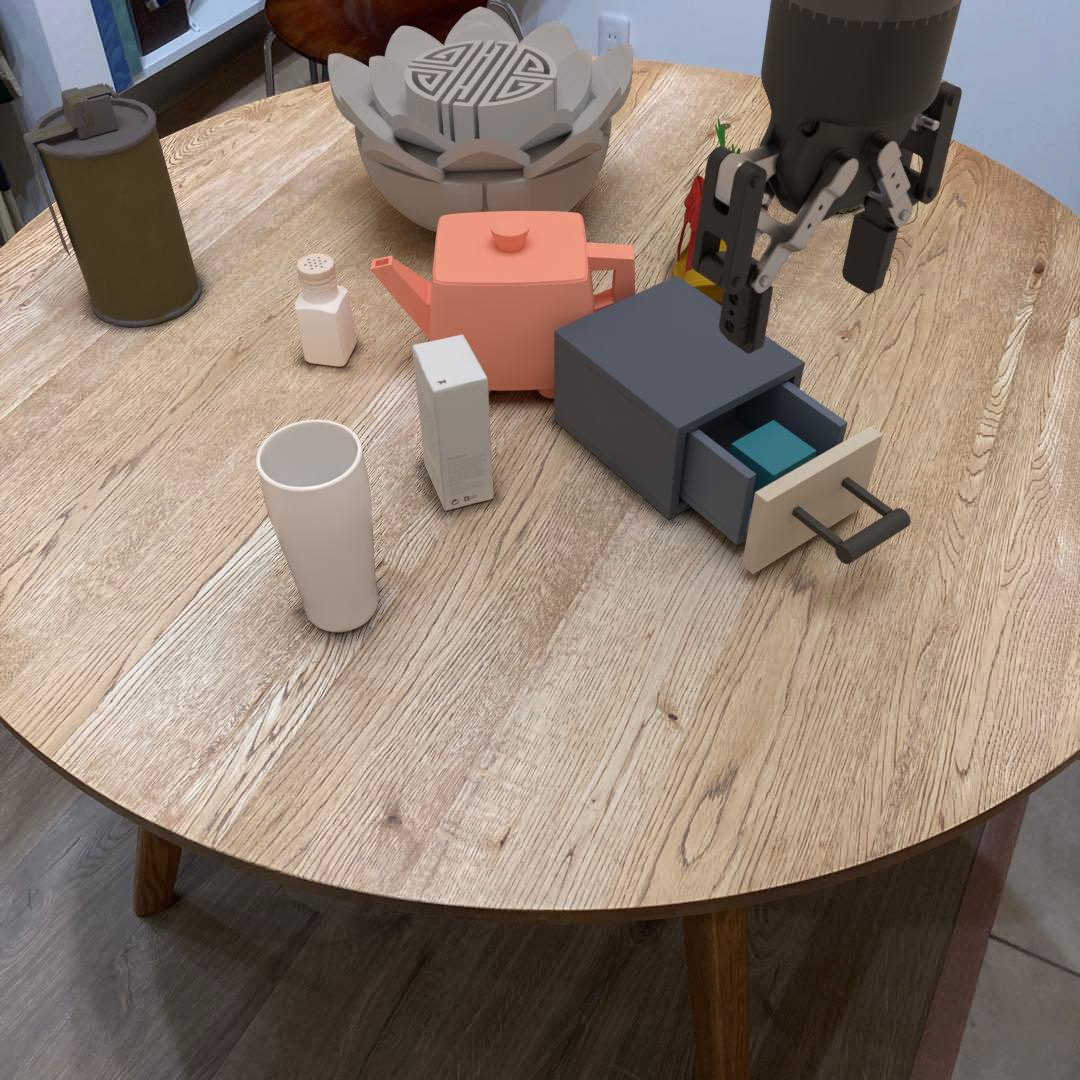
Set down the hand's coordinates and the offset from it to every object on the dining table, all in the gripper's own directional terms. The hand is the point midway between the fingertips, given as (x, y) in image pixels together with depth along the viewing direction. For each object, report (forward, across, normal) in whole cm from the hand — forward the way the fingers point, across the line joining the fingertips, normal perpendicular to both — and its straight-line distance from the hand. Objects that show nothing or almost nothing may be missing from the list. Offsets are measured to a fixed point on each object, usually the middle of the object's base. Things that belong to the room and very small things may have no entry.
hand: (803, 313), depth 56 cm
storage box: (+28, +11, +20) cm, 36 cm away
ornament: (+28, +30, +36) cm, 55 cm away
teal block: (+26, +11, +9) cm, 30 cm away
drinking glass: (+28, -20, +20) cm, 40 cm away
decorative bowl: (+28, +19, +60) cm, 69 cm away
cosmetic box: (+28, -6, +26) cm, 39 cm away
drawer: (+27, +11, +8) cm, 30 cm away
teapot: (+28, +6, +36) cm, 46 cm away
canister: (+28, -16, +66) cm, 74 cm away
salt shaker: (+28, -6, +47) cm, 55 cm away
